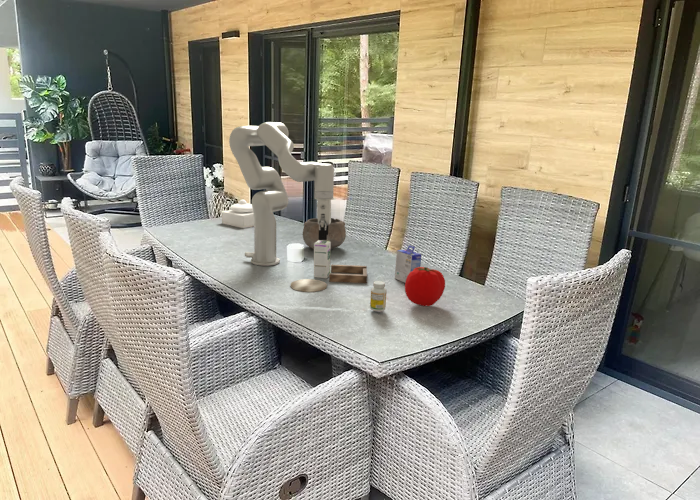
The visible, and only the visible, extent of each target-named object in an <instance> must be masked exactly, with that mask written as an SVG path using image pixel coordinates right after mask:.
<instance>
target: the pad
mask: <svg viewBox="0 0 700 500" xmlns="http://www.w3.org/2000/svg"><path fill="white" fill-rule="evenodd" d="M327 287H328V284H327V283H326V282H325V281H322V280H320V279H315V278H314V279H313V278H303V279H296V280H293V281H292V282H291V283H290V288H291V289H292V290H294V291H298V292H303V293H304V292H305V293H314V292H315V293H316V292H322V291H324V290H325V289H327Z"/></svg>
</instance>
